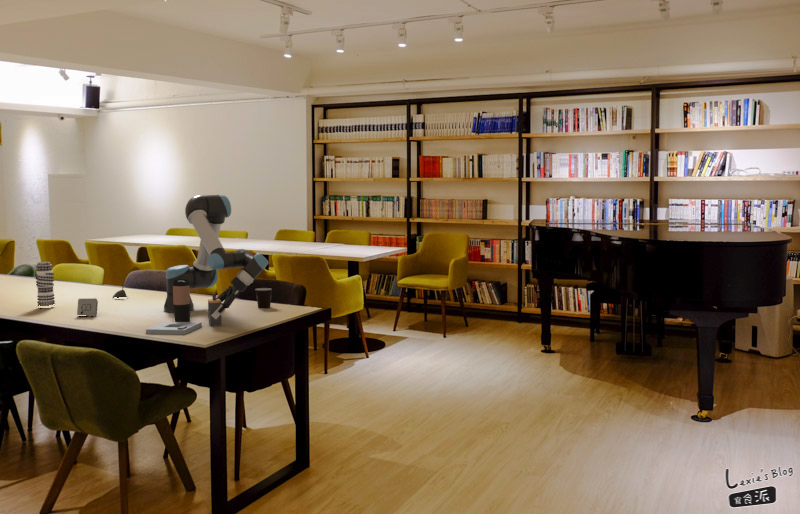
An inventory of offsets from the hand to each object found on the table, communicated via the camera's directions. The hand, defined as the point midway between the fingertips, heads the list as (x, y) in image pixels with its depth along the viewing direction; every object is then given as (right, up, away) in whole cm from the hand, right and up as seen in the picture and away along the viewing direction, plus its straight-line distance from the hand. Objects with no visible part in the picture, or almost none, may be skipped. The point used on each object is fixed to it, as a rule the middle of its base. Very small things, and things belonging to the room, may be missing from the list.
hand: (210, 315), depth 330 cm
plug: (+2, -5, +1) cm, 5 cm away
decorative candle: (-105, -1, +56) cm, 119 cm away
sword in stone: (-77, +2, +87) cm, 116 cm away
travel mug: (-17, -4, +12) cm, 21 cm away
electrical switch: (-70, -3, +29) cm, 76 cm away
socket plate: (-14, -6, -9) cm, 18 cm away
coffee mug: (+16, 0, +51) cm, 53 cm away
